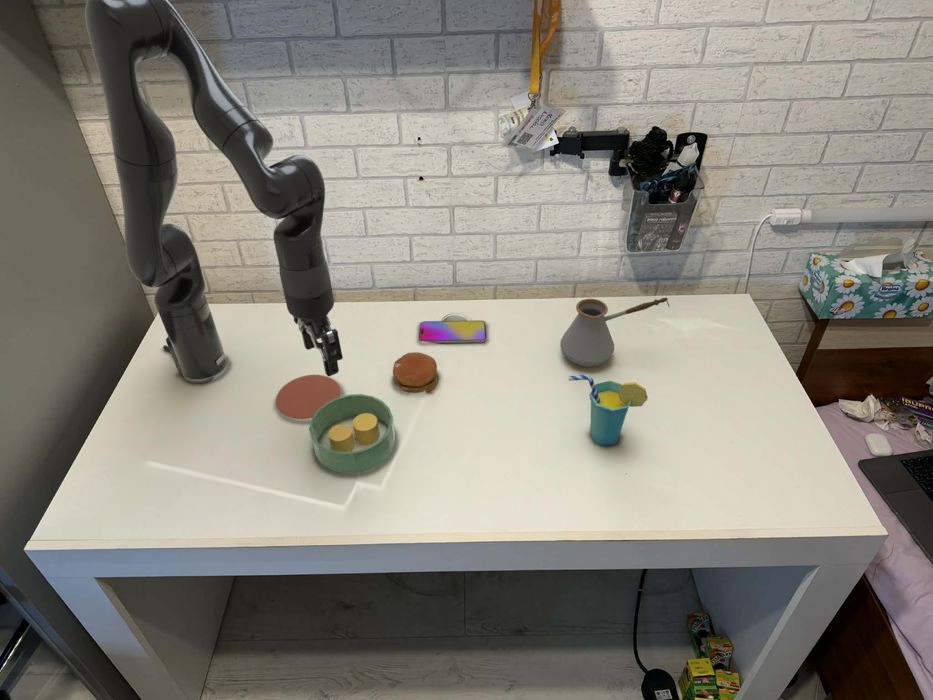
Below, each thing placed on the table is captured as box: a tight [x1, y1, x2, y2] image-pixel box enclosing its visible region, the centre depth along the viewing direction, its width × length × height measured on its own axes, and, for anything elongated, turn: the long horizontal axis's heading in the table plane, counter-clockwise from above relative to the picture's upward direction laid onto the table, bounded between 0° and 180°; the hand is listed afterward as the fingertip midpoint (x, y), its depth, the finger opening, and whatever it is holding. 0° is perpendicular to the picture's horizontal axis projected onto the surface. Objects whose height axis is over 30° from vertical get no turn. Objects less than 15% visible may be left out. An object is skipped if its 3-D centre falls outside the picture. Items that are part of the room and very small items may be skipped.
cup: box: [568, 374, 648, 447], centre depth 119 cm, size 14×8×15 cm, turn 84°
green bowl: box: [308, 393, 396, 474], centre depth 121 cm, size 15×15×6 cm
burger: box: [392, 351, 439, 393], centre depth 136 cm, size 10×9×5 cm
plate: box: [275, 374, 342, 420], centre depth 133 cm, size 13×13×1 cm
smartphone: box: [418, 320, 487, 344], centre depth 148 cm, size 7×1×15 cm
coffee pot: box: [559, 297, 671, 368], centre depth 137 cm, size 21×12×15 cm, turn 89°
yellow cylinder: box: [327, 423, 355, 452], centre depth 120 cm, size 4×4×4 cm
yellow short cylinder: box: [352, 413, 381, 445], centre depth 123 cm, size 5×5×4 cm
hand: (321, 360), depth 114 cm, fingers open, 8 cm apart
